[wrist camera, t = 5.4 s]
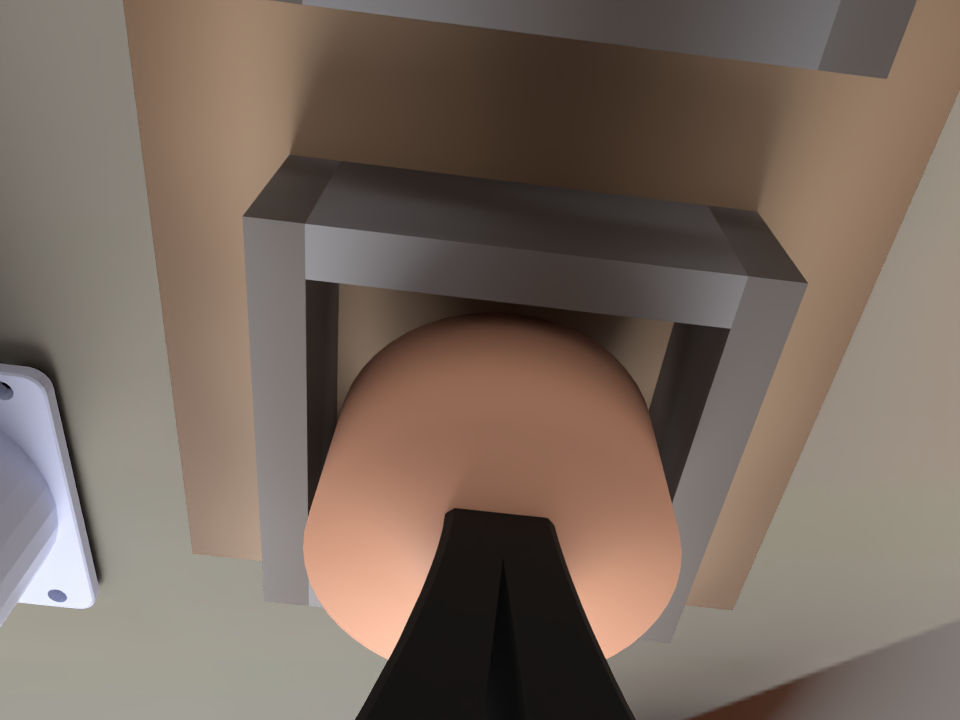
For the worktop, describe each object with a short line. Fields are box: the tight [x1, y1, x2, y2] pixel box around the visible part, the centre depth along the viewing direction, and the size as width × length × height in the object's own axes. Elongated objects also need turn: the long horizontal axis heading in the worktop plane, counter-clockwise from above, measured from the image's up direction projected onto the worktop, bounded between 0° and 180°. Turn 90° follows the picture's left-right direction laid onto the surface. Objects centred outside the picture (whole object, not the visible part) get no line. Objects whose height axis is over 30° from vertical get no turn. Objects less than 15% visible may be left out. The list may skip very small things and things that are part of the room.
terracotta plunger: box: [303, 312, 682, 659], centre depth 11 cm, size 5×5×2 cm
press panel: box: [123, 0, 960, 643], centre depth 12 cm, size 12×21×6 cm, turn 174°
